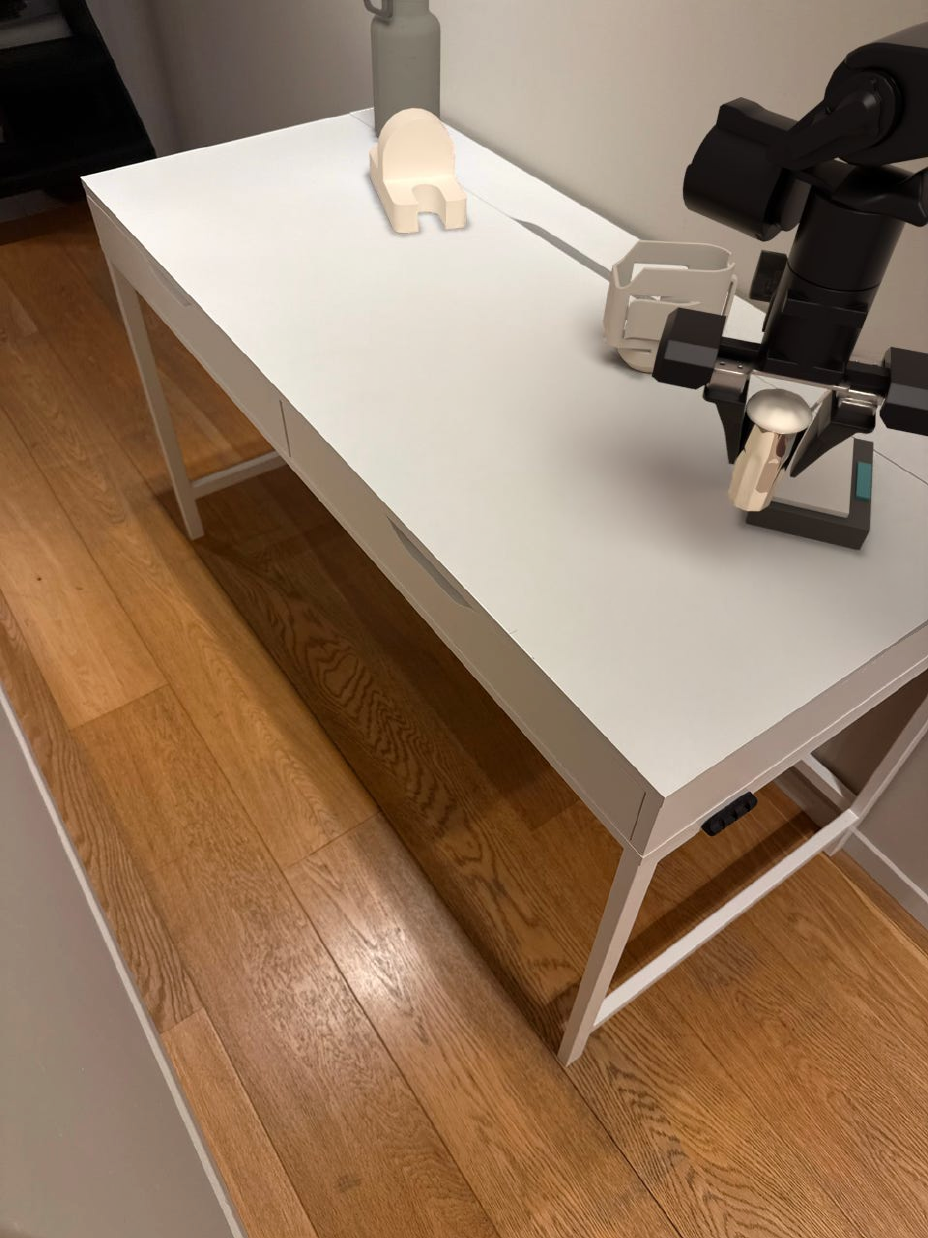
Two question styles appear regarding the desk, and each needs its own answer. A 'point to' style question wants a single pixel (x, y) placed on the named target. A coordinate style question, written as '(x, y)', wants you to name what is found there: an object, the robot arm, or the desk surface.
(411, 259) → the desk surface
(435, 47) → the water bottle
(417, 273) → the desk surface
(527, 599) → the desk surface
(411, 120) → the white slotted holder
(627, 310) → the cable organizer
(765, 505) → the milkshake
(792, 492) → the scale
